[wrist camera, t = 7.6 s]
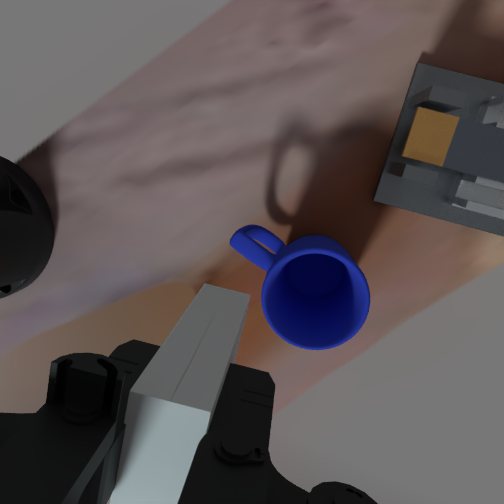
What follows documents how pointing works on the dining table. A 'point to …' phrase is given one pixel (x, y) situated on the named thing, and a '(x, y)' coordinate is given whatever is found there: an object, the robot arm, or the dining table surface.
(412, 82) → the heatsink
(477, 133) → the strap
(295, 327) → the mug
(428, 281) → the dining table surface
